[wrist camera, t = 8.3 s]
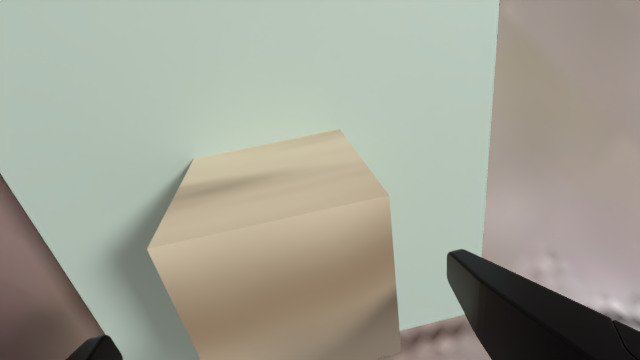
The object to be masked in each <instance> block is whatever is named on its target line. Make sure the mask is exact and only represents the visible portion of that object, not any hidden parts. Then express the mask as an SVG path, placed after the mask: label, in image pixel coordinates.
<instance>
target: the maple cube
mask: <svg viewBox="0 0 640 360" xmlns="http://www.w3.org/2000/svg"><path fill="white" fill-rule="evenodd" d="M147 251H148V253H149V255H150V257H151V259H152V261H153V263H154V265H155V267H156V269H157V271H158V273H159V275H160V277H161V279H162V281H163V283H164V285H165V287H166V290H167V292H168V294H169V296H170V298H171V300H172V302H173V304H174V306H175V308H176V310H177V312H178V314H179V316H180V318H181V320H182V322H183V324H184V326H185V329H186V331H187V333H188V335H189V337H190V339H191V341H192V343H193V345H194V347H195V349H196V351H197V353H198V355H199V357H200V359H201V360H374V359H378V358H382V357H386V356H390V355H394V354H398V353H401V343H400V330H399V317H398V303H397V290H396V277H395V264H394V251H393V238H392V224H391V211H390V198H389V194H388V193H387V192H386V190H385V189H384V188H383V186H382V185H381V184H380V182H379V181H378V180H377V178H376V177H375V176H374V174H373V173H372V172H371V170H370V169H369V168H368V166H367V165H366V164H365V162H364V161H363V160H362V158H361V157H360V156H359V154H358V153H357V152H356V150H355V149H354V148H353V146H352V145H351V144H350V142H349V141H348V140H347V138H346V137H345V136H344V134H343V133H342V132H341V130H340V129H337V130H332V131H327V132H322V133H317V134H312V135H308V136H303V137H298V138H293V139H288V140H283V141H278V142H273V143H268V144H263V145H259V146H254V147H249V148H244V149H239V150H234V151H229V152H224V153H219V154H214V155H209V156H205V157H200V158H195V159H193V161H192V163H191V165H190V167H189V169H188V171H187V173H186V175H185V177H184V179H183V181H182V182H181V184H180V186H179V188H178V190H177V192H176V194H175V196H174V198H173V200H172V202H171V204H170V205H169V207H168V209H167V211H166V213H165V215H164V217H163V219H162V221H161V223H160V225H159V227H158V229H157V230H156V232H155V234H154V236H153V238H152V240H151V242H150V244H149V246H148V248H147Z"/></svg>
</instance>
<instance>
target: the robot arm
mask: <svg viewBox="0 0 640 360" xmlns="http://www.w3.org/2000/svg"><path fill="white" fill-rule="evenodd" d="M447 279H448V282H449V285H450V286H451V288H452V290H453V292H454V294H455V296H456V298H457V300H458V302H459V304H460V306H461V308H462V310H463V311H464V313H465V315H466V317H467V319H468V321H469V323H470V325H471V327H472V329H473V331H474V332H475V334H476V336H477V337H478V339H479V341H480V342H481V344H482V345H483V347H484V348H485V350H486V351H487V353H488V354H489V356H490V358H491V359H492V360H640V331H638V330H635V329H633V328H631V327H629V326H627V325H625V324H623V323H620V322H618V321H616V320H613V321H612V319H611V318H609V317H607V316H605V315H603V314H601V313H599V312H597V311H595V310H592V309H590V308H588V307H586V306H584V305H582V304H580V303H578V302H575V301H573V300H571V299H569V298H567V297H565V296H563V295H561V294H558V293H556V292H554V291H552V290H550V289H548V288H546V287H543V286H541V285H539V284H537V283H535V282H533V281H531V280H529V279H526V278H524V277H522V276H520V275H518V274H516V273H514V272H512V271H509V270H507V269H505V268H503V267H501V266H499V265H497V264H494V263H492V262H490V261H488V260H486V259H484V258H482V257H480V256H477V255H475V254H473V253H471V252H469V251H467V250H464V249H458V250H454V251H450V252H448V254H447ZM66 360H123V357H122V354H121V353H120V351H119V349H118V348H117V346H116V345H115V343H114V342H113V340H112V339H111V337H110V336H108V335H101V336H97V337H92V338H90V339H88V340H87V341H85V342H84V343H83V344H82V345H81V346H80V347H79V348H78V349H77V350H76V351H75V352H74V353H72V354H71V355H70V356H69V357H68V358H67V359H66Z"/></svg>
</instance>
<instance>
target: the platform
mask: <svg viewBox="0 0 640 360" xmlns="http://www.w3.org/2000/svg"><path fill="white" fill-rule="evenodd" d="M498 14H499V0H0V173H1V175H2V177H3V178H4V180H5V181H6V183H7V184H8V186H9V187H10V189H11V190H12V192H13V193H14V195H15V196H16V198H17V200H18V201H19V203H20V204H21V206H22V207H23V209H24V210H25V212H26V213H27V215H28V216H29V218H30V219H31V221H32V222H33V224H34V226H35V227H36V229H37V230H38V232H39V233H40V235H41V236H42V238H43V239H44V241H45V242H46V244H47V245H48V247H49V249H50V250H51V252H52V253H53V255H54V256H55V258H56V259H57V261H58V262H59V264H60V265H61V267H62V268H63V270H64V272H65V273H66V275H67V276H68V278H69V279H70V281H71V282H72V284H73V285H74V287H75V288H76V290H77V291H78V293H79V295H80V296H81V298H82V299H83V301H84V302H85V304H86V305H87V307H88V308H89V310H90V311H91V313H92V314H93V316H94V318H95V319H96V321H97V322H98V324H99V325H100V327H101V328H102V330H103V331H104V333H105V334H106V335H108V336H110V337H111V339H112V340H113V342H114V343H115V345H116V346H117V348H118V349H119V351H120V353H121V354H122V357H123V360H201V359H200V357H199V355H198V353H197V351H196V349H195V347H194V345H193V343H192V341H191V339H190V337H189V335H188V333H187V331H186V329H185V326H184V324H183V322H182V320H181V318H180V316H179V314H178V312H177V310H176V308H175V306H174V304H173V302H172V300H171V298H170V296H169V294H168V292H167V290H166V287H165V285H164V283H163V281H162V279H161V277H160V275H159V273H158V271H157V269H156V267H155V265H154V263H153V261H152V259H151V257H150V255H149V253H148V251H147V248H148V246H149V244H150V242H151V240H152V238H153V236H154V234H155V232H156V230H157V229H158V227H159V225H160V223H161V221H162V219H163V217H164V215H165V213H166V211H167V209H168V207H169V205H170V204H171V202H172V200H173V198H174V196H175V194H176V192H177V190H178V188H179V186H180V184H181V182H182V181H183V179H184V177H185V175H186V173H187V171H188V169H189V167H190V165H191V163H192V161H193V159H195V158H200V157H205V156H209V155H214V154H219V153H224V152H229V151H234V150H239V149H244V148H249V147H254V146H259V145H263V144H268V143H273V142H278V141H283V140H288V139H293V138H298V137H303V136H308V135H312V134H317V133H322V132H327V131H332V130H337V129H340V130H341V132H342V133H343V134H344V136H345V137H346V138H347V140H348V141H349V142H350V144H351V145H352V146H353V148H354V149H355V150H356V152H357V153H358V154H359V156H360V157H361V158H362V160H363V161H364V162H365V164H366V165H367V166H368V168H369V169H370V170H371V172H372V173H373V174H374V176H375V177H376V178H377V180H378V181H379V182H380V184H381V185H382V186H383V188H384V189H385V190H386V192H387V193H388V194H389V198H390V211H391V224H392V238H393V251H394V264H395V277H396V290H397V303H398V317H399V330H400V331H401V330H405V329H409V328H413V327H417V326H421V325H425V324H429V323H433V322H437V321H441V320H445V319H449V318H453V317H457V316H460V315H464V314H465V313H464V311H463V310H462V308H461V306H460V304H459V302H458V300H457V298H456V296H455V294H454V292H453V290H452V288H451V286H450V285H449V282H448V279H447V254H448V252H450V251H454V250H458V249H464V250H467V251H469V252H471V253H473V254H475V255H477V256H480V257H482V244H483V229H484V215H485V201H486V186H487V172H488V158H489V143H490V129H491V115H492V100H493V86H494V72H495V57H496V43H497V29H498Z"/></svg>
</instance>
